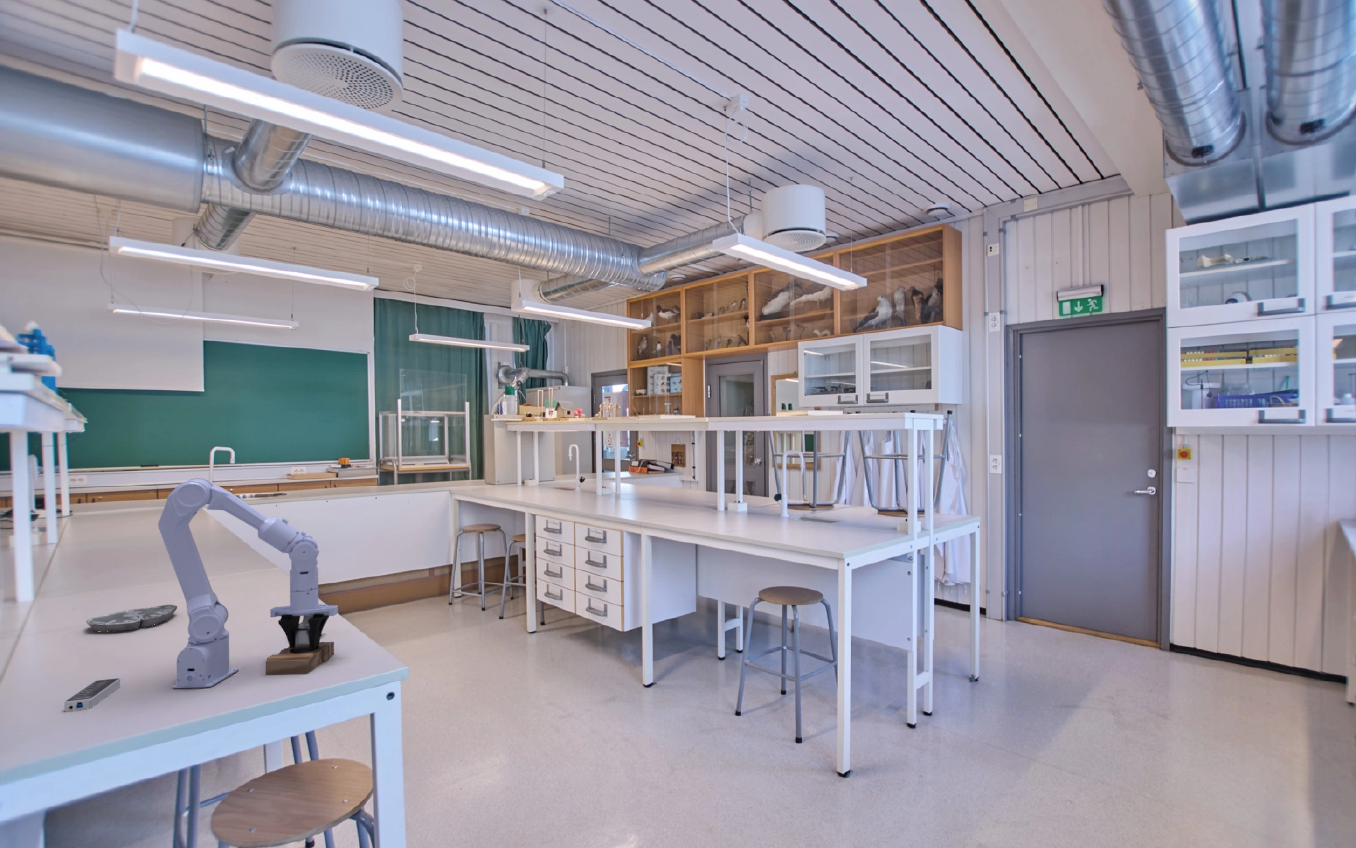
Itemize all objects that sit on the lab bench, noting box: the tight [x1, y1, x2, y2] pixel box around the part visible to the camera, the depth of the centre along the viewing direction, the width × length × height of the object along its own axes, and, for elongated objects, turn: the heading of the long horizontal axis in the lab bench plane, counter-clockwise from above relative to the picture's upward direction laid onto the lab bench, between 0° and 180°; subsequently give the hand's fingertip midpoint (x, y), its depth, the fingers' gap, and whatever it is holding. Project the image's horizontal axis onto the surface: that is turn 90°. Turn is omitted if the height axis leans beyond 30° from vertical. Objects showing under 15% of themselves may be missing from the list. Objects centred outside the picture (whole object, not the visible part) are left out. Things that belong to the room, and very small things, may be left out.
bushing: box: [294, 625, 316, 654], centre depth 147 cm, size 4×4×6 cm
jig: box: [265, 640, 335, 676], centre depth 145 cm, size 12×10×4 cm
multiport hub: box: [63, 677, 121, 712], centre depth 127 cm, size 4×11×2 cm, turn 18°
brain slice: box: [86, 604, 178, 633], centre depth 176 cm, size 20×17×3 cm
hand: (304, 646), depth 147 cm, fingers closed on bushing, 4 cm apart
